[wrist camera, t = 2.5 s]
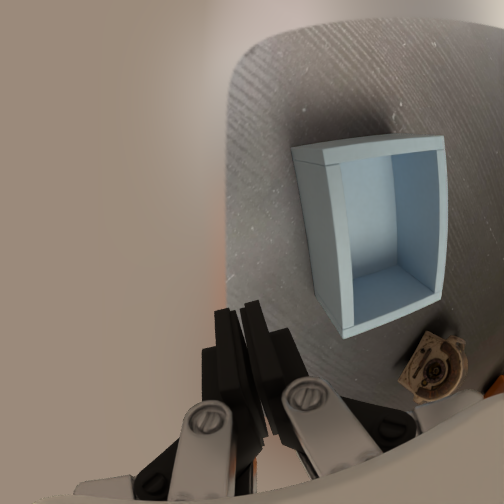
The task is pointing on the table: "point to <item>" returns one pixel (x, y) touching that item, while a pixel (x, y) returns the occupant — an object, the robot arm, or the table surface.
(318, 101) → the table surface
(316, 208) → the basket
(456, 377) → the mechanical counter
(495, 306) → the table surface
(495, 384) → the coil
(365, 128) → the table surface
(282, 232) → the table surface
